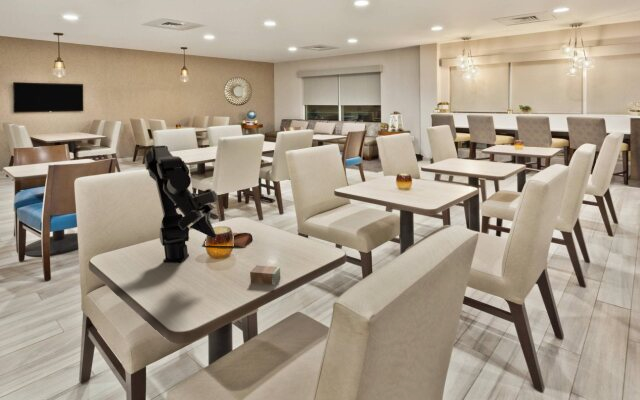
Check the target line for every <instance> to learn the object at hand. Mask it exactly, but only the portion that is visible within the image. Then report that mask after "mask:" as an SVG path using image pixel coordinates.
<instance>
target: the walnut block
mask: <svg viewBox="0 0 640 400" xmlns="http://www.w3.org/2000/svg"><path fill="white" fill-rule="evenodd" d="M249 276H250V283H251V284H261V285H269V286H270V285H271V286H273V285H274V286H275V285H276V284H278V283H277V282H279V280H280V279H281V278H282V277H281V267H280V266H272V265H271V266H270V265H269V266H268V265H257V264H256V265H255V266H254V267H253V269H251V270H250V272H249Z"/></svg>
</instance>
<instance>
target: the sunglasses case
mask: <svg viewBox="0 0 640 400" xmlns="http://www.w3.org/2000/svg"><path fill="white" fill-rule="evenodd" d="M232 233H233V236H234V247H233V248H240V249H242V248H243V249H245V248H247V246H249V244H251V242H253V241H254V240H253V235H252V234H251V233H249V232H232ZM205 241H206V238H204V241H203V242H202V245H201V247H206V246H205Z"/></svg>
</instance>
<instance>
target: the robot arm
mask: <svg viewBox="0 0 640 400" xmlns="http://www.w3.org/2000/svg"><path fill="white" fill-rule="evenodd" d="M144 157H145V158H144V165H145V169H146V170H147V171H148V175H149V177H150V178H151V179H153V181H155V184H156V188H157V192H158V198H159V202H160V206H161V210H162V211H161V212H162V214H163V217H162V219H161V225H160V227H159V242H160V244H161V245H162V246H163V248H164V256H165V257H164V259H163V260H162V261H163V262H164V263H165V262H166V263H182V262H183V261H184V260H186V259H187V258H188V257H189V256H190V253H188V252H189V251H188V245H187V244H186V242H189V240H190V234H189V233H190V229H193V230H195V231H198V232H199V233H202V234H204V235H206V236H207V235H208V236H210V237H212V238H214V237H216V234H215V231H216V230H215V229H214V226H213V225H212V222H211V220H210V216H211V211H212V210H213V209H215V207H214V206H213V204H212V203H216V202H217V201H218V198H217V194H218V193H216V192H215V190H213V189H211V188H208V189H205V190H204V191H203V193H202V194H200V195H197V194H196V193H195V192H192V193H191V191H190V190H189V187H190V186H191V183H192V179H191V178H192V177H190V175H189V174H190V169H189V167H188V164H186V163H185V161H184V160H183V159H182V158H181V157H180V156H175V155H173V154H172V153H171V152H170V151H169V147H168V146H167V145H154V146H151V147H150V151H148V152H147V153H146V154H145V156H144ZM177 209H179V211H181V213H182V214H181V213H178V211H177ZM189 225H190V226H189Z"/></svg>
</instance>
